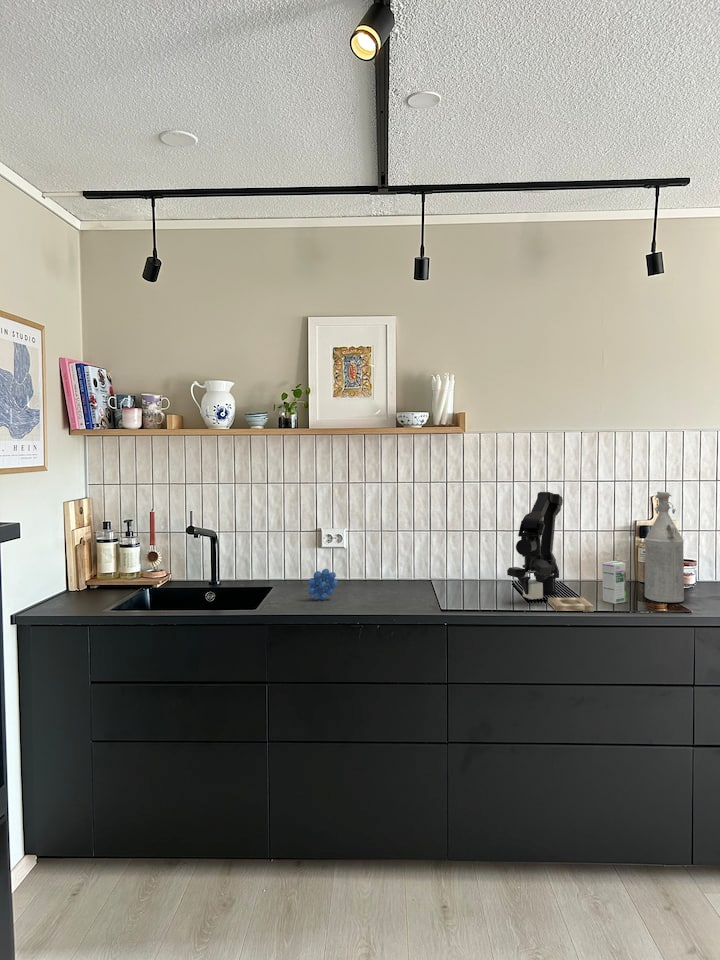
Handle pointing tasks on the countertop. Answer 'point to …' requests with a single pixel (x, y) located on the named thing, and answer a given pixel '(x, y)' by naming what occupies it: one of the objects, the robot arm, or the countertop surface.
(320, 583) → the grapes
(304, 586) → the countertop surface
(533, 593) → the cream block
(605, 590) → the syrup box
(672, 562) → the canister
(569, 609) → the socket block
